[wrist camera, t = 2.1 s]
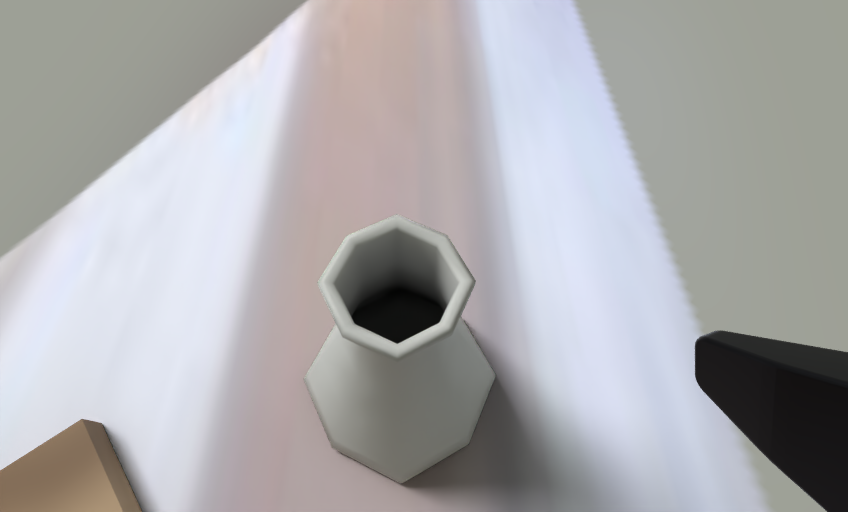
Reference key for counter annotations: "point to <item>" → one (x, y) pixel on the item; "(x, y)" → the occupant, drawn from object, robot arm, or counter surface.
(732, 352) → the robot arm
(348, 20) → the counter surface
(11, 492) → the tan board
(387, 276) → the flask
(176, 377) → the counter surface
